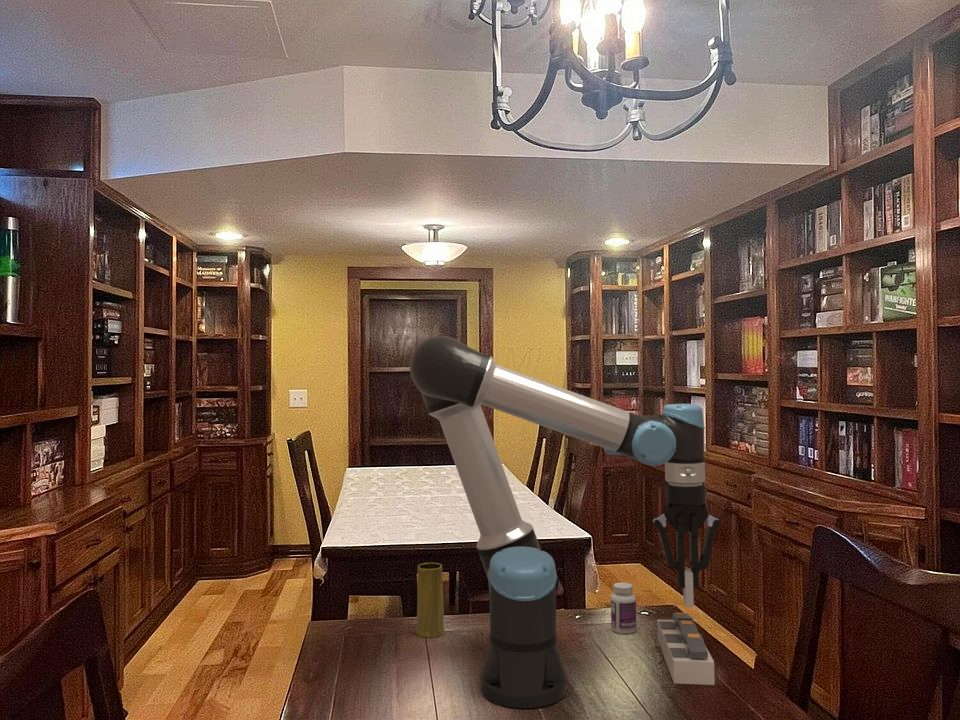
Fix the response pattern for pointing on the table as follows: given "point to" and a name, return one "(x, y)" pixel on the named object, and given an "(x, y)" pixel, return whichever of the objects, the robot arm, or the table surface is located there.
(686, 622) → the rocker
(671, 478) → the robot arm
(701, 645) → the block
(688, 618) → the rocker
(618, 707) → the table surface
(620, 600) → the pill bottle
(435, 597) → the vase
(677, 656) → the power strip
